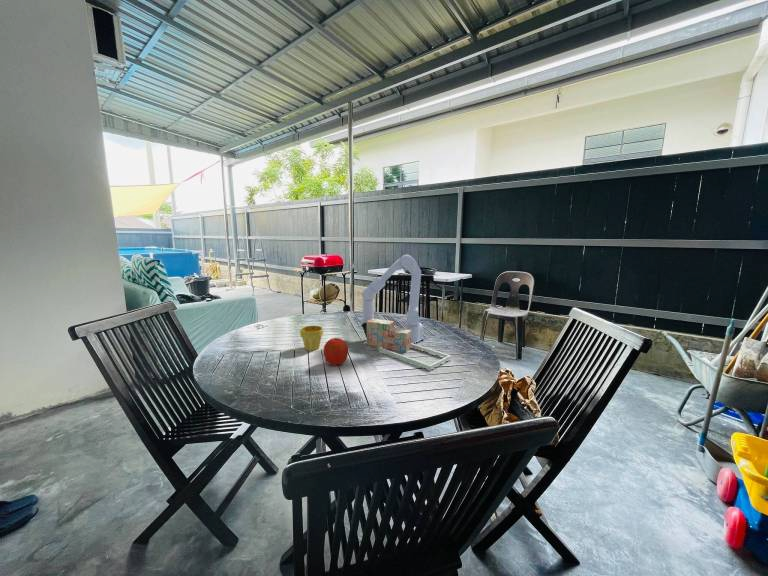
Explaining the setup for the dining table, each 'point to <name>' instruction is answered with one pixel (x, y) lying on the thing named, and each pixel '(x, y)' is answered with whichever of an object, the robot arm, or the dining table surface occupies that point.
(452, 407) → the dining table surface
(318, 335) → the plant pot
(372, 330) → the stack of blocks
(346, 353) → the apple
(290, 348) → the dining table surface
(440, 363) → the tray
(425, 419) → the dining table surface
